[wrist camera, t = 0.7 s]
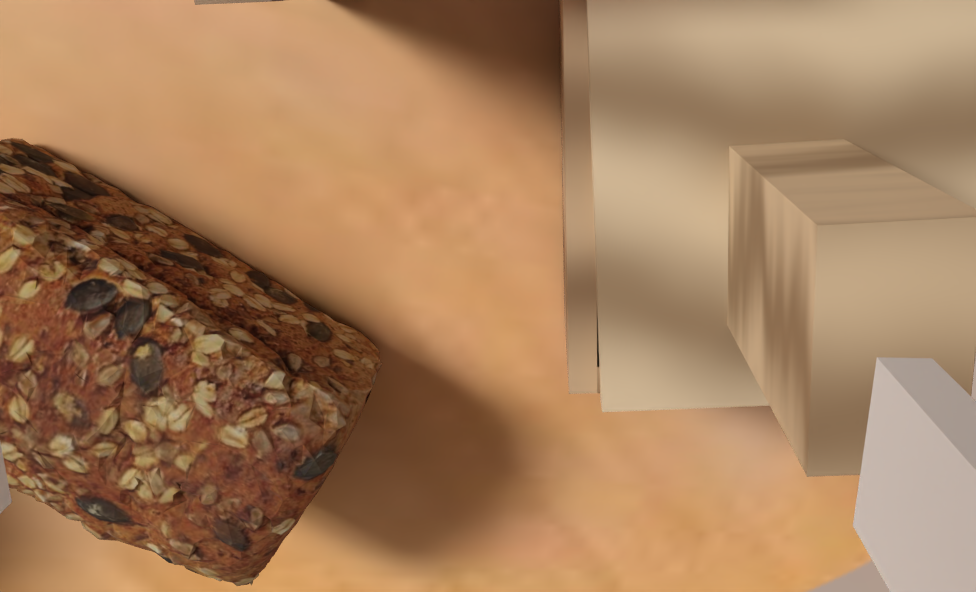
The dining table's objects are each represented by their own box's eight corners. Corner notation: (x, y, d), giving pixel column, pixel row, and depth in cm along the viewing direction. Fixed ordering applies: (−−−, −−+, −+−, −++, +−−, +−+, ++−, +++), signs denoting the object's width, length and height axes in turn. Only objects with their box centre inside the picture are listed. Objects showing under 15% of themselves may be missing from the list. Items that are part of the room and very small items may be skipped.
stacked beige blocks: (577, -230, 27) (597, -362, 17) (1008, -270, 26) (1316, -436, 16) (600, 400, 33) (626, 590, 23) (947, 385, 32) (1138, 578, 22)
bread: (400, 337, 42) (357, 441, 32) (290, 509, 45) (222, 649, 36) (22, 112, 40) (-142, 154, 30) (-65, 311, 43) (-239, 404, 33)
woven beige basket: (303, -177, 35) (157, -272, 22) (889, -210, 34) (1112, -333, 20) (350, 321, 41) (259, 481, 28) (844, 311, 40) (992, 475, 27)
